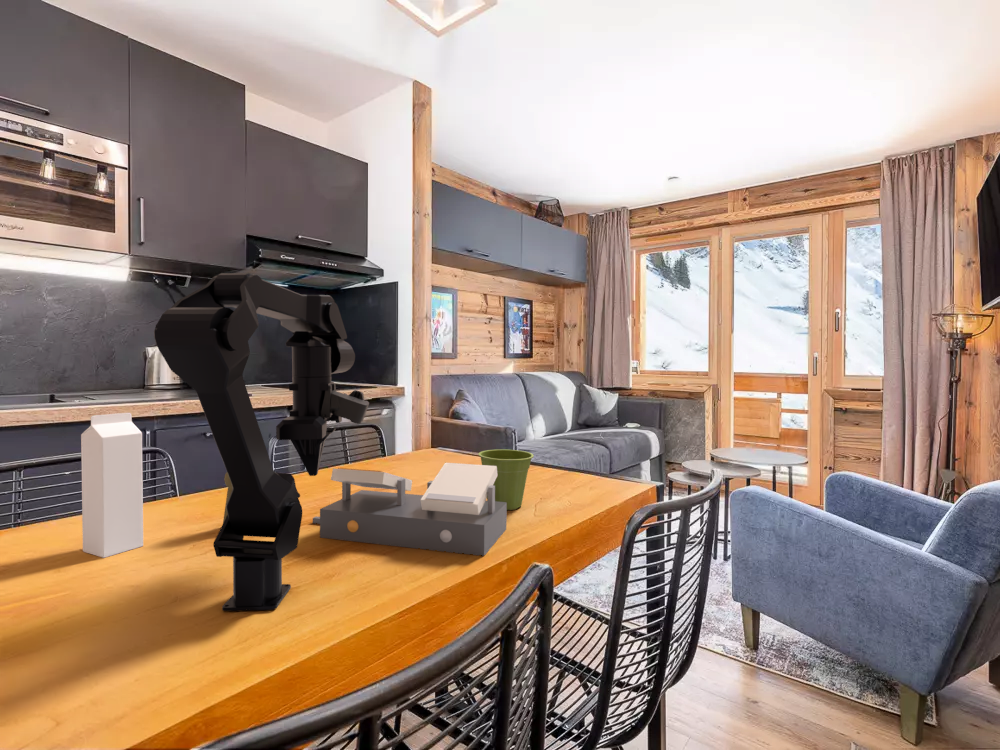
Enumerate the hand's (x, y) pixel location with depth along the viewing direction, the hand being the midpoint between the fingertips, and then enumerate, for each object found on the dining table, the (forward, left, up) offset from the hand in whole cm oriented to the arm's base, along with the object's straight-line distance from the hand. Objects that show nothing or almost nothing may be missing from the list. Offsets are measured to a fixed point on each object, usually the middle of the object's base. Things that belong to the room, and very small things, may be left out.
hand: (313, 475), depth 83 cm
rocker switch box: (+11, -12, -13) cm, 21 cm away
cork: (+15, +17, -13) cm, 26 cm away
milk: (+5, +33, -13) cm, 36 cm away
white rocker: (+7, -23, -4) cm, 25 cm away
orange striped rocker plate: (+13, -7, -4) cm, 16 cm away
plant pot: (+27, -33, -13) cm, 45 cm away
